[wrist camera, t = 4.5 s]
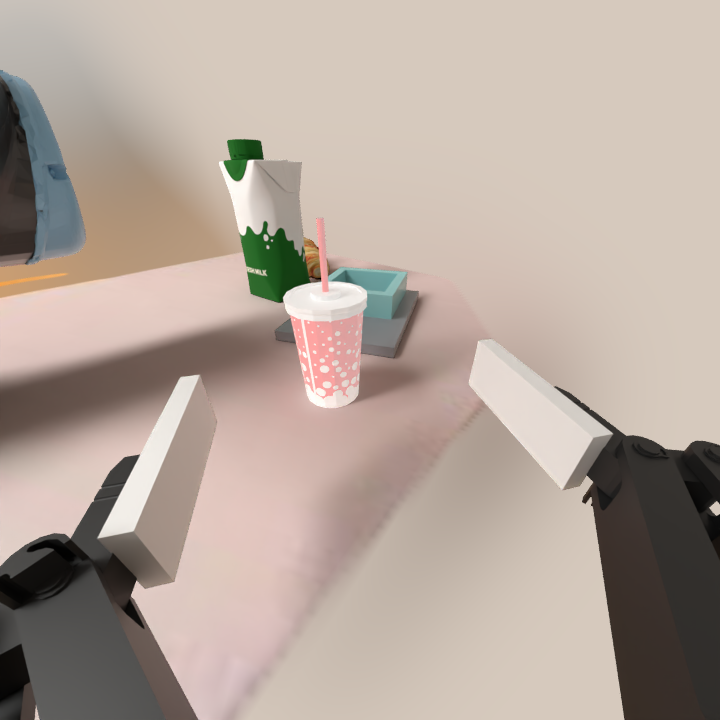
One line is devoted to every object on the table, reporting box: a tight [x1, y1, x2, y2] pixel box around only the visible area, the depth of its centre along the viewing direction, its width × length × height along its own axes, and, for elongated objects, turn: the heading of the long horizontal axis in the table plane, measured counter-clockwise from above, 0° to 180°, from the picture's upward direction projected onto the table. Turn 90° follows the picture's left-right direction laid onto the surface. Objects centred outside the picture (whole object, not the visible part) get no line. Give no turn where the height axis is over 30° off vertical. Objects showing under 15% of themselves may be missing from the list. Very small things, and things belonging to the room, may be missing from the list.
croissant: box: [303, 237, 329, 278], centre depth 59 cm, size 21×10×8 cm, turn 40°
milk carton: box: [219, 139, 310, 303], centre depth 43 cm, size 9×9×20 cm
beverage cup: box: [283, 218, 367, 408], centre depth 22 cm, size 6×6×14 cm
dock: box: [275, 267, 419, 358], centre depth 39 cm, size 18×14×4 cm
